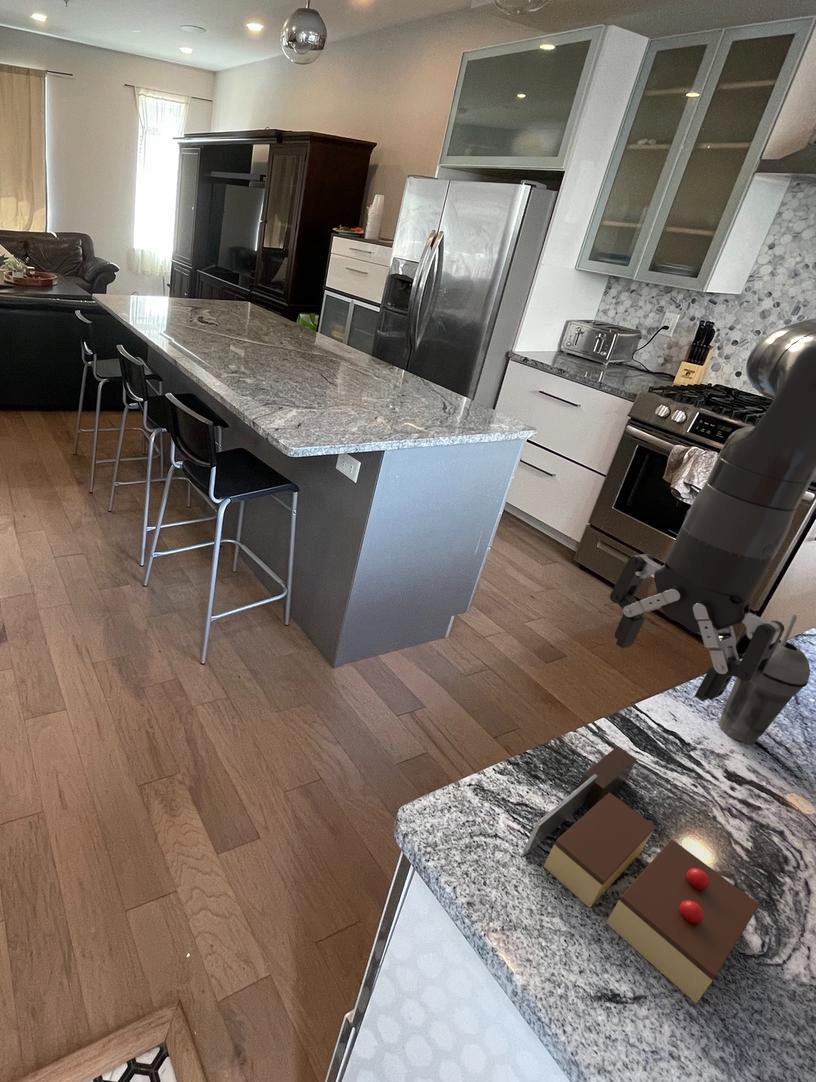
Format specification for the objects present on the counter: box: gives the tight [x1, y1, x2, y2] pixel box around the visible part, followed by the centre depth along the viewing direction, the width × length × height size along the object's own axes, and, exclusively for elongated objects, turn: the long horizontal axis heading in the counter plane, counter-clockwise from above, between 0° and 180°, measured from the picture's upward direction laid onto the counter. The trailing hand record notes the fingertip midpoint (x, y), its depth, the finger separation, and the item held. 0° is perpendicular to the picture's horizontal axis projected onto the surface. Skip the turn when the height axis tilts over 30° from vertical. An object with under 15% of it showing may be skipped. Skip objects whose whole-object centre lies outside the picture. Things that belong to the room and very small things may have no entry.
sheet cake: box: [605, 838, 760, 1004], centre depth 61 cm, size 12×8×6 cm, turn 126°
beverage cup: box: [718, 614, 811, 745], centre depth 87 cm, size 7×7×20 cm
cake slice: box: [543, 792, 656, 909], centre depth 67 cm, size 12×5×4 cm, turn 126°
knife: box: [522, 745, 638, 856], centre depth 72 cm, size 22×2×4 cm, turn 126°
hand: (661, 669), depth 67 cm, fingers open, 8 cm apart
